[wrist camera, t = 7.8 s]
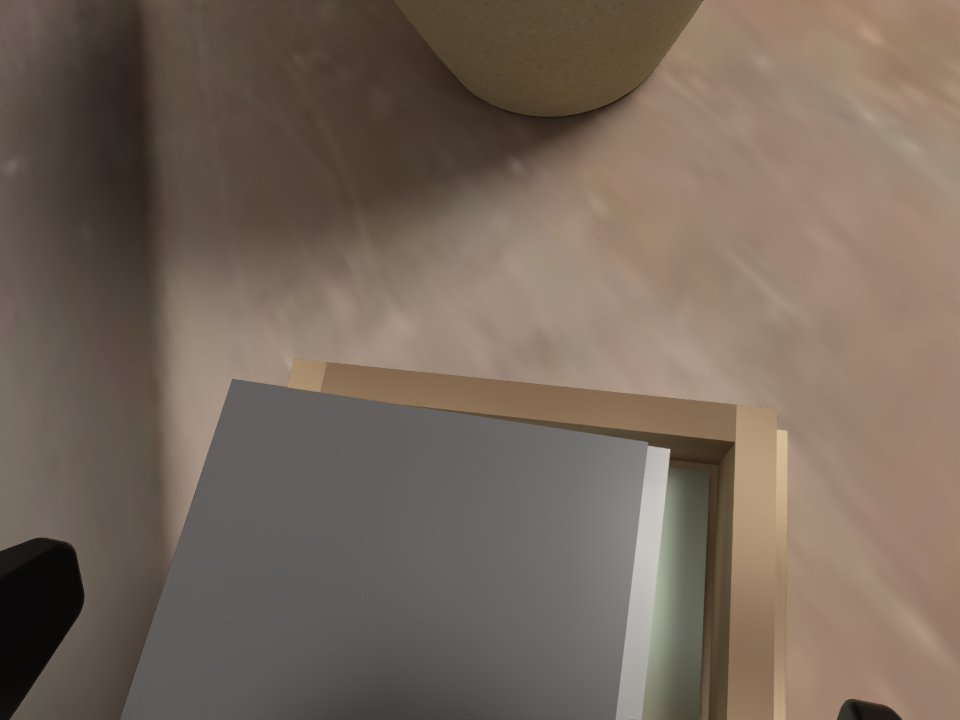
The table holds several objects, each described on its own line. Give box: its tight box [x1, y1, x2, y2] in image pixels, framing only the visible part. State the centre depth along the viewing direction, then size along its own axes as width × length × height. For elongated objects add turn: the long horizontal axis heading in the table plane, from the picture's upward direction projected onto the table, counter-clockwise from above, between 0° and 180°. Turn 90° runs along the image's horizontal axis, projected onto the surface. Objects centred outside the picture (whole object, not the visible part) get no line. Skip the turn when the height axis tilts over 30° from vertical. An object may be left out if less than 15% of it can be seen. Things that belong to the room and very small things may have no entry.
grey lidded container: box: [120, 379, 670, 720], centre depth 11 cm, size 4×5×10 cm
